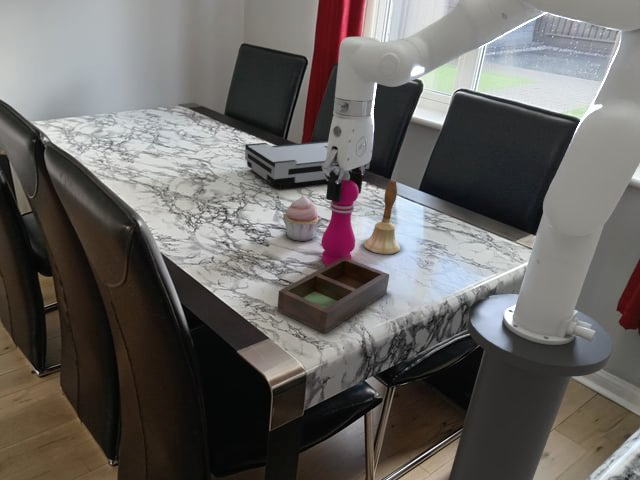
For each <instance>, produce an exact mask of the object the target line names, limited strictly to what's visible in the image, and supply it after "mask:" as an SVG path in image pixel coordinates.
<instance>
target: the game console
mask: <svg viewBox="0 0 640 480" xmlns="http://www.w3.org/2000/svg"><path fill="white" fill-rule="evenodd" d="M327 146H328V140H324V141H312V142H303V143H292V144H291V143H290V144H280V145H270V144H268V143H267V142H258V143H247V144H246V143H245V146H244V160H246V166H247V167H248V168H250V169H251V170H252V172H253V173H255V174H257V175H258V176H259V177H261V178H263V179H264V180H266V181H268V182H270V185H272V186H273V187H275V188H276V189H277V190H279V191H283V190H290V189H297V188H298V189H300V188H306V187H307V188H308V187H314V186H315V187H316V186H323V185H327V183H328V181H327V180H326V176H325V173H324V171H323V170H322V165H323V163H324V162H325V160H326V156H327ZM370 165H371V161H370V162H369V163H367V165H366V167H365V170H369V169H370ZM336 166H338V167H339V164H337V165H336ZM338 171H339V170H336V169H335V170H334V172H335V173H336V175H337V174H338ZM345 172H347V173H349V172H351V170H349V171H344V173H345Z"/></svg>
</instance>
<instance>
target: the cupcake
mask: <svg viewBox="0 0 640 480" xmlns="http://www.w3.org/2000/svg"><path fill="white" fill-rule="evenodd" d="M321 219H322V217H321V216H320V215H319V213H318V207H317V205H315V203H314V202H313V201H310V200H309V199H308V198H307V197H306V196H304V195H302V196H301V197H300V198H298V199H295V200H294V201H292V202H291V204H290V205H289V206H288V207H287V209H286V212H285V213H282V221H283V223H284V225H285V231H286V235H287V237H288V238H289V239H290V240H293V241H299V242H306V241H310V240H312V239H313V238H314V237H315V234H316V231H317V228H318V227H319V225H320V224H321V223H322V220H321Z"/></svg>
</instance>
